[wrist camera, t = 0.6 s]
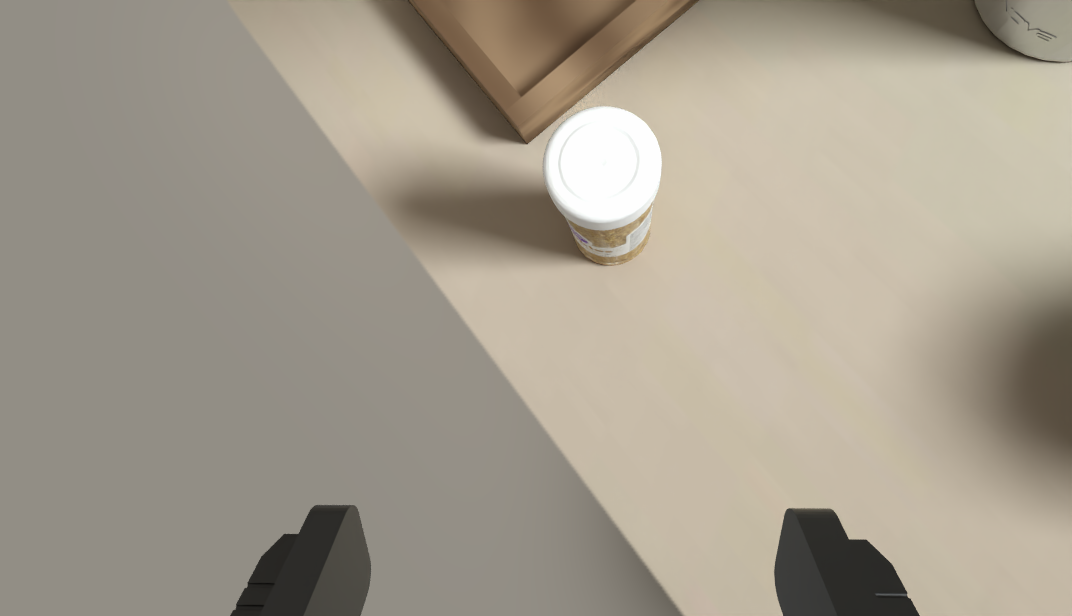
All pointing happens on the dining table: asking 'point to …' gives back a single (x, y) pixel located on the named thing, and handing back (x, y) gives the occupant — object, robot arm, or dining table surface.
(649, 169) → the spice jar
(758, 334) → the dining table surface
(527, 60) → the tray
